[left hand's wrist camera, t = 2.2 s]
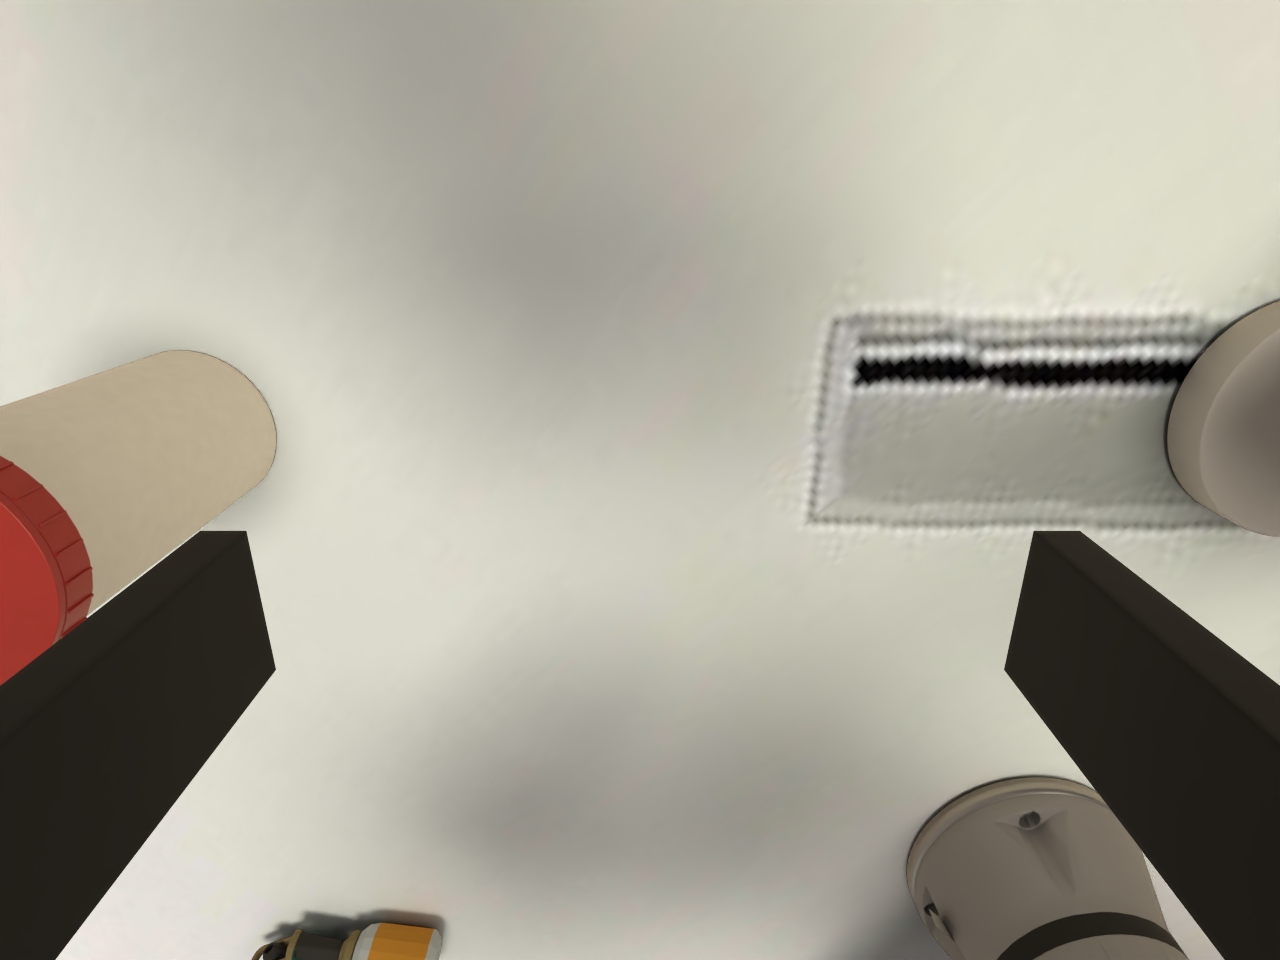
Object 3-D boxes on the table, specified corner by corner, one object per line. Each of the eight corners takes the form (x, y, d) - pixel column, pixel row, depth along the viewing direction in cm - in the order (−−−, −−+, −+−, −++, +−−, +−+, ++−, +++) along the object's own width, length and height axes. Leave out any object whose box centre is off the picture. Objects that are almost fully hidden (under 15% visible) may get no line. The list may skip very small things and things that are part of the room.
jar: (309, 444, 41) (110, 597, 26) (203, 526, 43) (-43, 714, 27) (192, 317, 39) (-108, 402, 23) (84, 410, 40) (-261, 545, 25)
